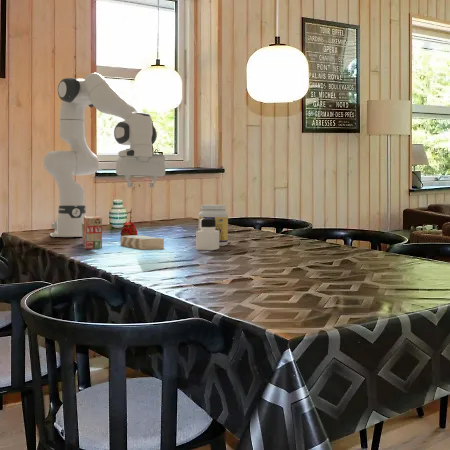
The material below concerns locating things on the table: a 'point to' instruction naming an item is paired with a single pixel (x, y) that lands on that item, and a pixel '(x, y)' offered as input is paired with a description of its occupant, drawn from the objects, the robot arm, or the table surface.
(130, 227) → the red clay folk toy
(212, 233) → the medicine bottle
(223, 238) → the supplement tub
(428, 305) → the table surface
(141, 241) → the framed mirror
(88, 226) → the stack of blocks
